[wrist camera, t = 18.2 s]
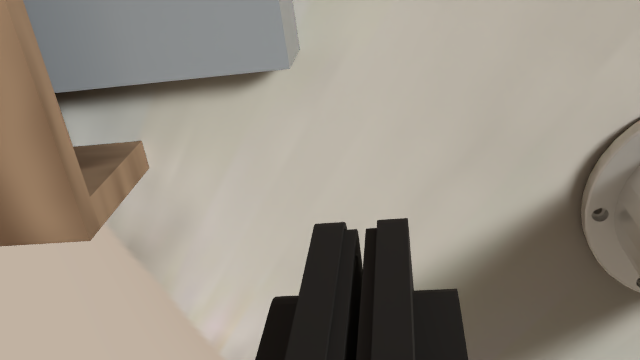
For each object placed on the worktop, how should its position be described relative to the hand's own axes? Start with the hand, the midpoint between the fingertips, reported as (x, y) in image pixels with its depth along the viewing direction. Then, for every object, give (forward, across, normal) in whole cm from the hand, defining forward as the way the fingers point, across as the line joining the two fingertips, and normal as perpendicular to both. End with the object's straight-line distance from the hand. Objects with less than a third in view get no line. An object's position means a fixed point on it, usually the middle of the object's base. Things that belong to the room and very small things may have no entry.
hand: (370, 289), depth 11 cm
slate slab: (+24, +13, -1) cm, 27 cm away
